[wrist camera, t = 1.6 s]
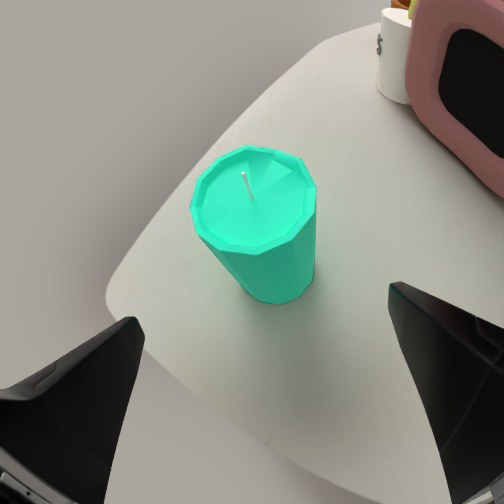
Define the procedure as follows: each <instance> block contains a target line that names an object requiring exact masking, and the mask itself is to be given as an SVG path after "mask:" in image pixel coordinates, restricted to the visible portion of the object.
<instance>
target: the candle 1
mask: <svg viewBox="0 0 504 504" xmlns="http://www.w3.org/2000/svg"><path fill="white" fill-rule="evenodd" d="M190 211H191V215H192V219H193V223H194V227H195V230H196V234H197V235H198V236H199V237H200V238H201V239H202V241H203V242H204V243H205V244H206V245H207V247H208V248H209V249H210V250H211V251H212V252H213V254H214V255H215V256H216V257H217V258H218V259H219V261H220V262H221V263H222V264H223V265H224V266H225V268H226V269H227V270H228V271H229V272H230V273H231V274H232V276H233V277H234V278H235V279H236V280H237V281H238V282H239V284H240V285H241V286H242V287H243V288H244V289H245V290H246V291H247V292H248V293H250V294H251V295H252V296H253V297H255V298H256V299H257V300H259V301H260V302H264V303H272V304H280V305H281V304H283V303H286V302H288V301H290V300H293V299H295V298H298V297H300V296H301V295H302V293H303V292H304V291H305V289H306V288H307V287H308V285H309V284H310V283H311V281H312V279H313V270H314V261H315V236H316V185H315V183H314V181H313V179H312V177H311V176H310V174H309V172H308V170H307V168H306V166H305V164H304V162H303V161H302V159H300V158H298V157H295V156H293V155H290V154H287V153H285V152H282V151H279V150H276V149H270V148H263V147H256V146H248V145H244V146H242V147H240V148H238V149H236V150H233V151H231V152H229V153H227V154H225V155H223V156H221V157H219V158H217V159H216V160H215V161H214V162H213V163H212V164H211V165H210V166H209V167H208V168H207V169H206V171H205V172H204V173H203V174H202V175H201V176H200V177H199V178H198V179H197V181H196V185H195V189H194V193H193V197H192V201H191V205H190Z"/></svg>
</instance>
